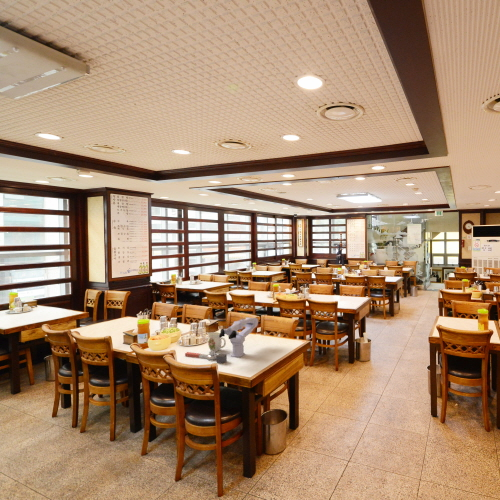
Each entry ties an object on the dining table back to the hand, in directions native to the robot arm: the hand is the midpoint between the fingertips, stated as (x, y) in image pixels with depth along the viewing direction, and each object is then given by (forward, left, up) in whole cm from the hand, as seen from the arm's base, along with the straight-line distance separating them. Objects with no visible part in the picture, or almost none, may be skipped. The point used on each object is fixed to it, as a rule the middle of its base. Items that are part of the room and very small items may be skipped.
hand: (224, 337), depth 248 cm
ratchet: (-7, -24, -20) cm, 32 cm away
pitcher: (-26, -21, -20) cm, 39 cm away
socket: (-3, -4, -20) cm, 20 cm away
